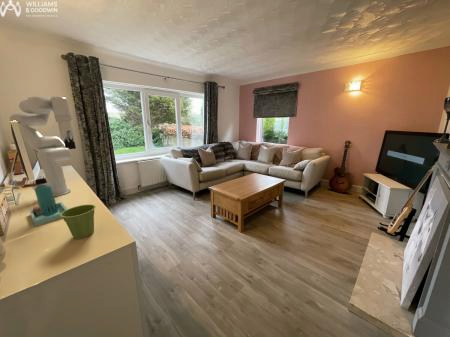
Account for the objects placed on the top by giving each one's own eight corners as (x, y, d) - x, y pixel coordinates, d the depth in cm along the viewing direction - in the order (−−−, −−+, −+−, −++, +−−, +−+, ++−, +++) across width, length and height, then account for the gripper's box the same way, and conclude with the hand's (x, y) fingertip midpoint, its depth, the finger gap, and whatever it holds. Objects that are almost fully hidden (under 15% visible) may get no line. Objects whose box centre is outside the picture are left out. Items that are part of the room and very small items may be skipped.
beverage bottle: (49, 219, 94) (38, 181, 89) (38, 218, 96) (27, 180, 91) (62, 213, 100) (52, 177, 96) (52, 212, 102) (42, 176, 97)
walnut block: (34, 214, 100) (32, 207, 99) (44, 211, 103) (42, 204, 102) (37, 216, 98) (35, 209, 97) (47, 213, 101) (45, 206, 100)
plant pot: (103, 233, 81) (98, 209, 78) (68, 246, 73) (61, 220, 70) (97, 223, 89) (92, 201, 87) (65, 234, 81) (58, 210, 79)
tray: (31, 215, 101) (29, 210, 100) (62, 206, 110) (61, 202, 109) (35, 227, 88) (33, 221, 88) (70, 216, 98) (69, 211, 97)
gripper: (52, 119, 114) (59, 148, 118) (58, 118, 103) (65, 150, 107) (68, 119, 119) (74, 146, 123) (75, 118, 108) (81, 148, 112)
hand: (70, 148), depth 115 cm, fingers open, 9 cm apart
